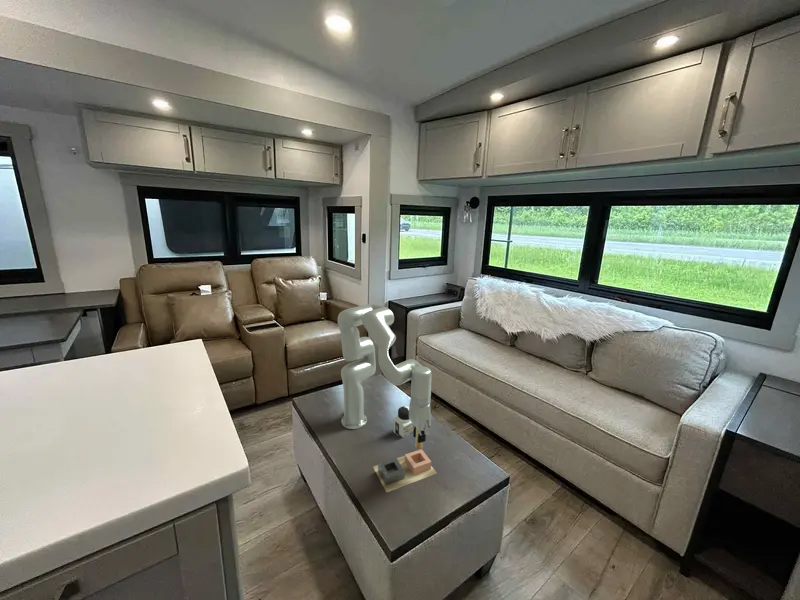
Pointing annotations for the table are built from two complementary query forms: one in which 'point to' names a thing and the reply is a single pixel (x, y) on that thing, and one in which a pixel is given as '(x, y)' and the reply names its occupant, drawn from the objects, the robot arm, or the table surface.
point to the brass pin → (417, 445)
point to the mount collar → (392, 476)
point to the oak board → (408, 476)
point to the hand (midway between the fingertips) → (419, 438)
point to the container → (403, 422)
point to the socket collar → (417, 467)
